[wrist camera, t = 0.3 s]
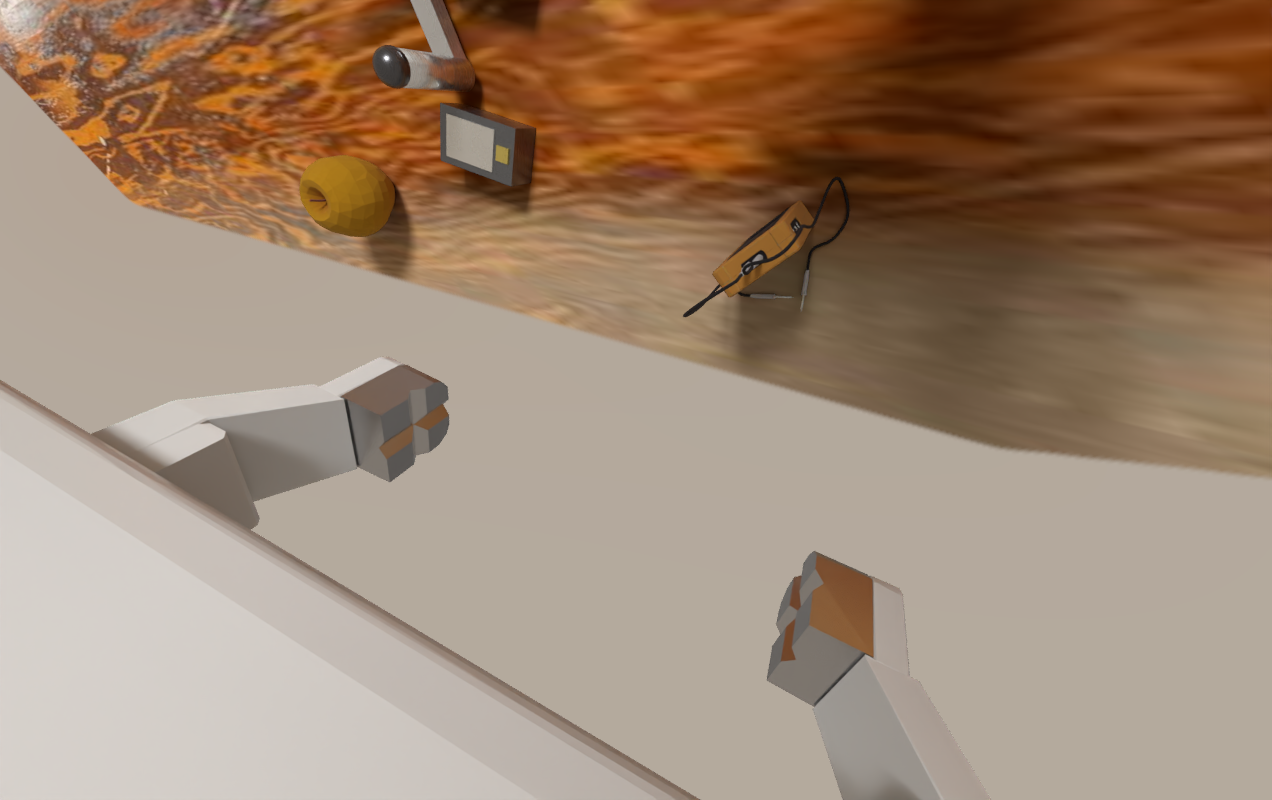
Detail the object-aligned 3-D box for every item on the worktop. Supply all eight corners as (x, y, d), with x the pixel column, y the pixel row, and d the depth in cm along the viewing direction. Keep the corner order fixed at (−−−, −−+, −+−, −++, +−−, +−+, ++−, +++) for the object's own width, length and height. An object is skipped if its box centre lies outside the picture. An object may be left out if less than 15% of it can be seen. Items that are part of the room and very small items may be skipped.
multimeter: (765, 333, 55) (725, 418, 40) (715, 263, 54) (651, 322, 38) (891, 256, 47) (904, 326, 31) (836, 171, 45) (819, 198, 29)
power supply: (464, 103, 56) (438, 102, 53) (535, 128, 54) (514, 128, 51) (463, 158, 60) (439, 160, 57) (530, 182, 58) (510, 186, 55)
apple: (419, 233, 68) (348, 251, 59) (368, 221, 71) (292, 236, 62) (407, 157, 63) (328, 164, 54) (353, 147, 66) (268, 152, 56)
